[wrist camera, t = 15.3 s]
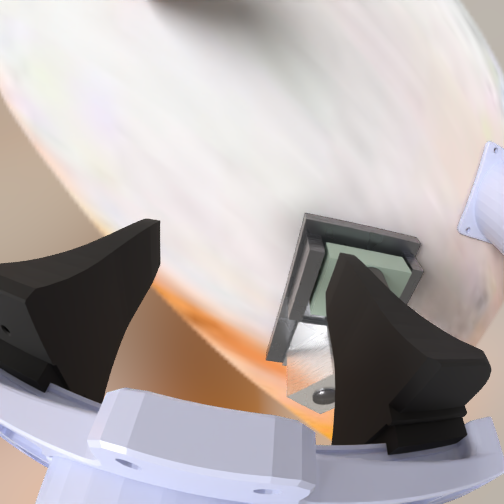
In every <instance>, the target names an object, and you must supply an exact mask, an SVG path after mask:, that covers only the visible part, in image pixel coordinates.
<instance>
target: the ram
mask: <svg viewBox="0 0 504 504" xmlns="http://www.w3.org/2000/svg"><path fill="white" fill-rule="evenodd" d="M324 250H325V254H324V257H323V261H322V264H321V267H320V270H319V273H318V276H317V279H316V282H315V285H314V288H313V290H312V293H311V296H310V299H309V304H310V314H313V315H320V316H326V296H325V292H326V290H327V287H328V284H329V282H330V279H331V276H332V273H333V271H334V268H335V265H336V262H337V259H338V256H339V254H340V252H341V253H346V254H352V255H355V256H356V257H357V258H358V259H360V260H361V261H362V262H363V263H364V264H365V265H366V266H367V267H368V268H369V269H370V270H371V271H372V272H373V273H374V274H375V275H376V276H377V277H378V278H379V279H380V280H381V281H382V282H383V283H384V284H385V285H386V286H387V287H388V288H389V289H390V290H391V291H392V292H393V293H394V294H395V295H396V296H397V297H398V298H400V296H401V294H402V292H403V290H404V288H405V286H406V284H407V282H408V280H409V278H410V276H411V274H412V272H411V271H410V269H409V267H408V266H407V264H406V262H405V261H404V259H403V257H399V256H394V255H389V254H384V253H379V252H374V251H369V250H364V249H359V248H354V247H349V246H344V245H339V244H333V243H328V242H326V245H325V248H324Z"/></svg>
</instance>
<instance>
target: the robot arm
mask: <svg viewBox="0 0 504 504" xmlns="http://www.w3.org/2000/svg"><path fill="white" fill-rule="evenodd" d="M494 148H495V152H494ZM467 228H468V229H467ZM466 229H467V230H466ZM457 230H458V232H459V233H461V234H463V235H466V236H469V237H473V238H476V239H479V240H482V241H485V242H488V243H491V244H493V245H494V246H495V247H496V248H497V249H498V250H499V251H500V252H501V253H502V254H503V255H504V149H503V148H502V147H500V146H499V145H497V144H495V143H493V142H491V141H488V142H487V143H486V145H485V148H484V152H483V155H482V159H481V162H480V166H479V169H478V172H477V175H476V178H475V181H474V184H473V187H472V190H471V193H470V196H469V198H468V201H467V204H466V206H465V209H464V212H463V214H462V217H461V219H460V222H459V224H458V227H457ZM159 266H160V221H158V220H152V219H143V220H140V221H138V222H136V223H133V224H131V225H129V226H127V227H125V228H122V229H120V230H118V231H116V232H114V233H112V234H110V235H107V236H105V237H103V238H100V239H98V240H96V241H93V242H91V243H89V244H87V245H84V246H81V247H78V248H75V249H73V250H69V251H66V252H63V253H59V254H55V255H52V256H47V257H43V258H39V259H34V260H28V261H21V262H13V263H1V264H0V437H2V438H3V439H5V440H6V441H7V442H9V443H10V444H11V445H13V446H14V447H16V448H17V449H18V450H20V451H21V452H23V453H24V454H26V455H28V456H29V457H31V458H32V459H34V460H35V461H37V462H39V463H40V464H42V465H44V466H45V467H47V468H48V470H47V473H46V475H45V477H44V480H43V483H42V486H41V489H40V491H39V494H38V497H37V500H36V503H35V504H443V503H446V502H449V501H451V500H455V499H457V498H460V497H462V496H464V495H466V494H468V493H470V492H472V491H474V490H476V489H478V488H479V487H481V486H483V485H485V484H487V483H488V482H490V481H492V480H493V479H495V478H497V477H499V476H500V475H502V474H503V473H504V457H503V453H502V450H501V446H500V443H499V439H498V436H497V433H496V430H495V427H494V424H493V421H492V418H491V417H485V418H481V419H476V420H473V421H470V422H468V423H466V424H464V422H463V418H462V417H464V416H465V415H466V414H467V411H466V408H465V404H467V403H468V402H469V401H470V400H471V399H472V398H473V397H474V396H475V394H477V392H479V390H481V388H482V387H483V386H484V385H485V384H486V382H487V380H488V379H489V377H490V373H491V366H490V364H489V362H488V359H487V357H486V355H485V354H484V352H483V351H482V350H480V349H478V348H476V347H474V346H471V345H469V344H467V343H465V342H463V341H461V340H459V339H457V338H455V337H453V336H451V335H450V334H448V333H446V332H444V331H443V330H441V329H439V328H438V327H436V326H435V325H433V324H432V323H430V322H429V321H427V320H426V319H424V318H423V317H422V316H420V315H419V314H418V313H416V312H415V311H414V310H413V309H411V308H410V307H409V306H408V305H406V304H405V303H404V302H403V301H402V300H401V299H399V298H398V297H397V296H396V295H395V294H394V293H393V292H392V291H391V290H390V289H389V288H388V287H387V286H386V285H385V284H384V283H383V282H382V281H381V280H380V279H379V278H378V277H377V276H376V275H375V274H374V273H373V272H372V271H371V270H370V269H369V268H368V267H367V266H366V265H365V264H364V263H363V262H362V261H361V260H360V259H358V258H357V257H356V256H355V255H352V254H346V253H341V252H340V254H339V256H338V259H337V262H336V265H335V268H334V271H333V273H332V276H331V279H330V282H329V284H328V287H327V290H326V292H325V296H326V316H327V322H328V328H329V334H330V340H331V346H332V352H333V358H334V367H335V410H334V425H333V436H332V445H316V438H315V432H314V431H313V430H311V429H310V428H308V427H307V426H305V425H304V424H302V423H301V422H299V421H298V420H293V419H289V418H284V417H280V416H275V415H268V414H259V413H252V412H245V411H238V410H232V409H226V408H220V407H215V406H209V405H204V404H199V403H195V402H190V401H185V400H181V399H177V398H173V397H168V396H164V395H161V394H156V393H153V392H149V391H144V390H137V389H131V388H121V389H118V390H114V391H111V392H107V394H106V396H105V398H104V395H105V390H106V387H107V383H108V380H109V376H110V373H111V369H112V366H113V363H114V360H115V358H116V355H117V352H118V349H119V346H120V343H121V341H122V339H123V336H124V334H125V331H126V329H127V327H128V325H129V323H130V321H131V319H132V318H133V316H134V314H135V312H136V311H137V309H138V307H139V305H140V304H141V302H142V300H143V298H144V297H145V295H146V293H147V291H148V290H149V288H150V286H151V285H152V283H153V280H154V278H155V276H156V273H157V271H158V268H159ZM103 399H104V400H103Z"/></svg>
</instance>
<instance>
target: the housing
mask: <svg viewBox="0 0 504 504" xmlns="http://www.w3.org/2000/svg"><path fill="white" fill-rule="evenodd" d="M287 397H288V398H290V399H292V400H294V401H296V402H298V403H300V404H301V405H303V406H305V407H307V408H309V409H311V410H313V411H315V412H317V413H319V414H322V413H324V412H326V411H329V410H331V409H333V408H335V367H334V358H333V352H332V346H331V340H330V334H329V328H328V327H327V326H326V327H325V328H323V329H322V330H320V331H318V332H317V333H315V334H314V335H312V336H310V337H309V338H307V339H306V340H304V341H302V342H301V343H299V344H297V345H296V346H294V347H292V348H291V349H289V350H287Z"/></svg>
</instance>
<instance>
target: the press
mask: <svg viewBox="0 0 504 504" xmlns="http://www.w3.org/2000/svg"><path fill="white" fill-rule="evenodd" d="M326 242H328V243H333V244H339V245H344V246H349V247H354V248H359V249H364V250H369V251H374V252H379V253H384V254H389V255H394V256H399V257H403V259H404V261H405V262H406V264H407V266H408V267H409V269H410V271H411V272H412V274H411V276H410V278H409V280H408V282H407V284H406V286H405V288H404V290H403V292H402V294H401V296H400V298H399V299H401V300H402V301H403V302H404V303H405V304H406V305H407V303H408V301H409V299H410V298H411V296H412V294H413V292H414V290H415V288H416V286H417V284H418V282H419V280H420V278H421V276H422V274H423V272H424V270H423V269H422V267H421V266H420V264H419V263H418V261H417V260H416V258H415V256H416V254H417V252H418V249H419V247H420V245H421V243H420V242H419V240H418V239H417V238H416V237H412V236H408V235H404V234H400V233H396V232H392V231H387V230H383V229H379V228H374V227H370V226H365V225H361V224H356V223H352V222H347V221H342V220H338V219H333V218H328V217H323V216H318V215H313V214H308V213H305V214H304V218H303V222H302V226H301V230H300V234H299V238H298V242H297V246H296V250H295V253H294V257H293V261H292V265H291V268H290V272H289V276H288V279H287V283H286V287H285V290H284V294H283V297H282V301H281V304H280V308H279V311H278V315H277V318H276V322H275V325H274V329H273V332H272V335H271V339H270V342H269V345H268V349H267V352H266V360H268V361H275V362H282V365H284V366H287V350H289V349H291V348H292V347H294V346H296V345H297V344H299V343H301V342H302V341H304V340H306V339H307V338H309V337H310V336H312V335H314V334H315V333H317V332H318V331H320V330H322V329H323V328H325V327H326V326H327V327H328V322H327V316H320V315H313V314H310V304H309V299H310V296H311V293H312V290H313V288H314V285H315V282H316V279H317V276H318V273H319V270H320V267H321V264H322V261H323V257H324V254H325V250H324V248H325V245H326Z"/></svg>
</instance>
